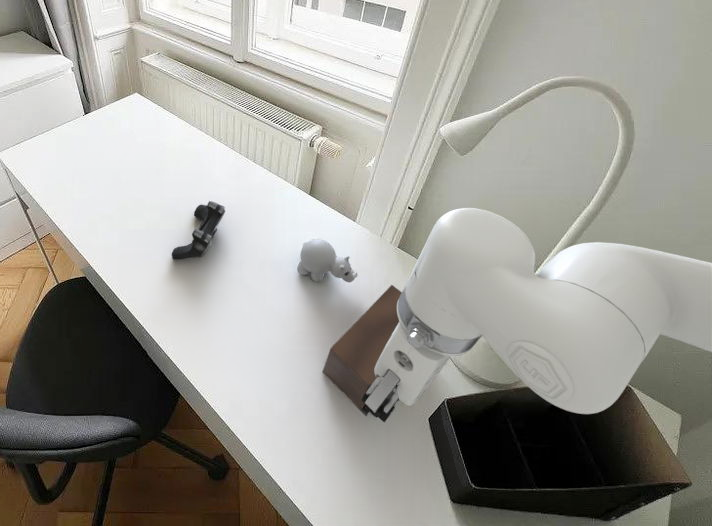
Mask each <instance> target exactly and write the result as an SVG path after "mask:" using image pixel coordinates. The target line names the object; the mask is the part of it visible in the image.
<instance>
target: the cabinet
mask: <svg viewBox="0 0 712 526" xmlns="http://www.w3.org/2000/svg"><path fill="white" fill-rule="evenodd" d="M401 293H402V291H401V290H400V289H398V288H397V287H396V286H394V285H393V284H391V285H390V286H389V287H388V288H387V289H386V290H385V291H384V292H383V293H382V294H381V295H380V296H378V298H377V299H376V300H375V302H373V304H372V305H370V307H369V308H368V309H366V311H365V312H363V314H362V315H361V316H360V317H359V318H358V319H357V320H356V321H355V322H354V323H353V324H352V325H351V326H350V327H349V328H348V330H346V332H345V333H343V335H342V336H341V337H340V338H339V339H338V340H337V341H336V342H335V343H334V344H333V345H332V346H331V347H330V349H329V351H328V354H327V357H326V360H325V363H324V366H323V369H322V373H323V374H324V375H325V376H326V378H327V379H329V380H330V382H332V383H333V385H335V386H336V387H337V388H338V390H340V391H341V392H342V394H344V396H345V397H346V398H348V399H349V401H350V402H351V403H352V404H353V405H354V406H356V407H357V408H358V410H360V411H361V413H363V415H364V416H365V417H367V416H368V415H369V414H370V412H369V411H368V410H367V409H366V408H365V407H366V405H365V404H364V403H363V401H362V398H363V396H364V394H365V392H366V390H367V388H368V387H369V385H370V384H371V385H372V384H373V382H374V381H375V379H376V378H377V377H378V376H377V377H376V376H375V373H374V369H375V366H376V363H377V361H378V359H379V357H380V355H381V353H382V351H383V350H384V348H385V346H386V344H387V342H388V341H389V339H390V337H391V335H392V333H393V332H394V330H395V328H396V327H397V325H398V323H399V318H398V315H397V302H398V300H399V298H400V295H401ZM386 374H387V373H386Z"/></svg>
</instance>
